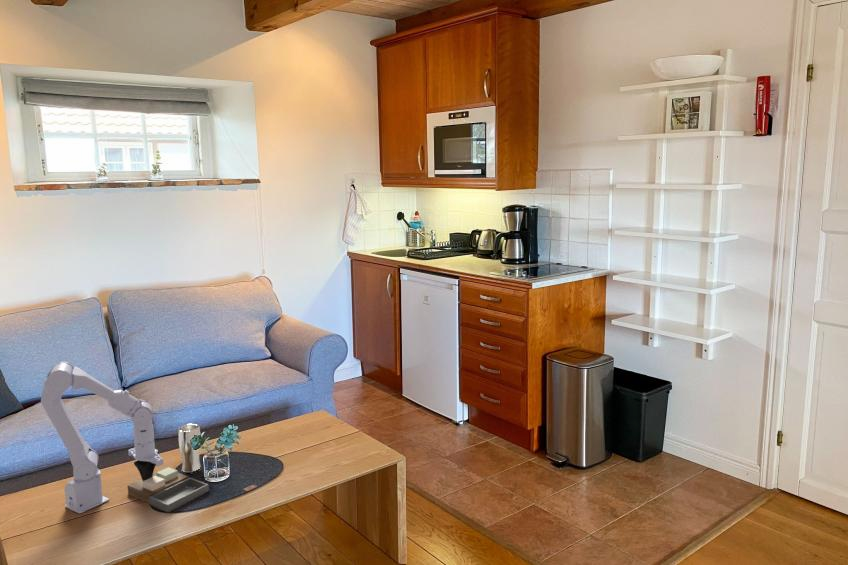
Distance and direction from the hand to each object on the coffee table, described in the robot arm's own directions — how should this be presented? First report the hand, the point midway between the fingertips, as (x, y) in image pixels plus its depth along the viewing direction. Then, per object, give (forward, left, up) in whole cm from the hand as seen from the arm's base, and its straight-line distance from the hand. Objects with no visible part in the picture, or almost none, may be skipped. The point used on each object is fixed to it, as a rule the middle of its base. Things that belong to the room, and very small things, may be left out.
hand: (147, 481), depth 204 cm
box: (+3, -11, -4) cm, 12 cm away
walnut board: (+3, -1, -4) cm, 5 cm away
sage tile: (+6, -2, -1) cm, 6 cm away
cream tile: (0, -3, -1) cm, 3 cm away
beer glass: (+17, +1, -4) cm, 18 cm away
